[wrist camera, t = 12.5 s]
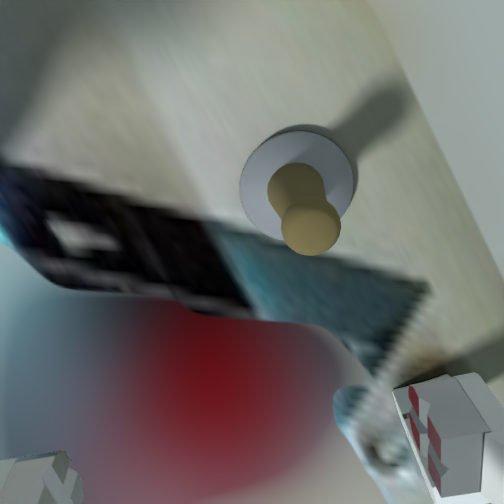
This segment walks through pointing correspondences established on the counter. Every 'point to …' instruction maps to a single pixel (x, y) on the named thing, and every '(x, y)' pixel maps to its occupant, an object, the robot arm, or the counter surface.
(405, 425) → the skincare box
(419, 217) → the counter surface
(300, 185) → the cork
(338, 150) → the coaster
